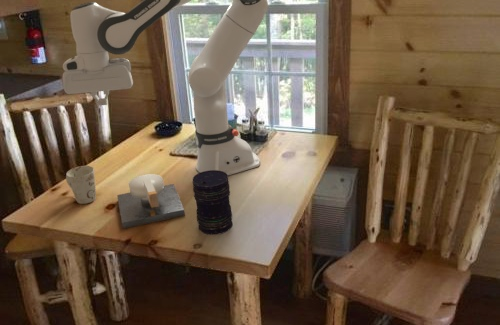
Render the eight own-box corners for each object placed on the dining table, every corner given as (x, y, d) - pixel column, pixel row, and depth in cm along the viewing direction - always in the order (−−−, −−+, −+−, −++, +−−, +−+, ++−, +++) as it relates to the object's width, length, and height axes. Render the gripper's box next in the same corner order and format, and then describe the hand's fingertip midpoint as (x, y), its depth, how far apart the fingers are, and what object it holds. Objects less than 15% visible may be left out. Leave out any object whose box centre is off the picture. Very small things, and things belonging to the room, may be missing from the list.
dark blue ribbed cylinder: (211, 213, 147) (205, 167, 141) (239, 220, 142) (235, 173, 136) (191, 230, 139) (184, 182, 133) (220, 238, 135) (215, 189, 128)
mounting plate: (174, 189, 163) (172, 173, 160) (185, 215, 147) (182, 198, 144) (118, 200, 158) (114, 184, 156) (123, 228, 142) (119, 211, 140)
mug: (85, 208, 155) (78, 179, 151) (58, 199, 161) (51, 171, 157) (105, 196, 161) (99, 168, 157) (79, 188, 168) (72, 161, 164)
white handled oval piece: (128, 187, 153) (125, 172, 151) (160, 180, 156) (158, 165, 154) (137, 214, 137) (134, 198, 135) (173, 205, 140) (170, 189, 138)
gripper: (130, 54, 152) (137, 98, 157) (61, 60, 150) (71, 104, 156) (128, 59, 146) (135, 104, 152) (56, 65, 144) (67, 111, 150)
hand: (102, 104), depth 154 cm, fingers closed
